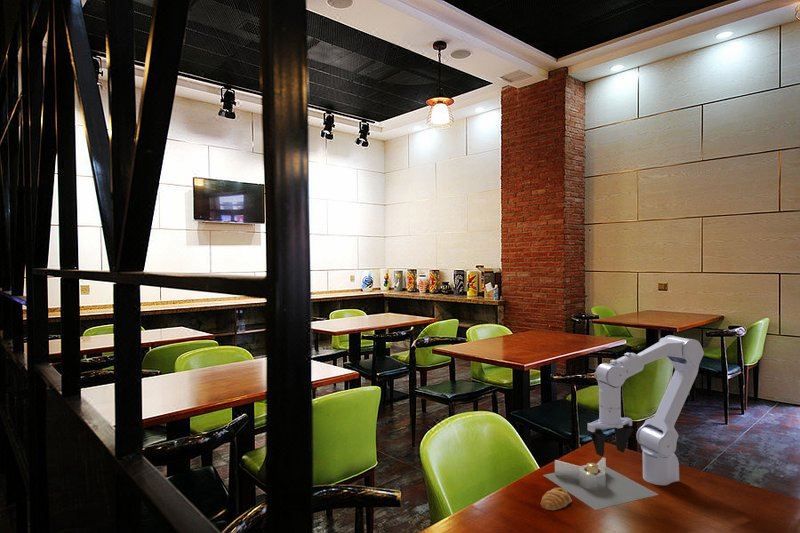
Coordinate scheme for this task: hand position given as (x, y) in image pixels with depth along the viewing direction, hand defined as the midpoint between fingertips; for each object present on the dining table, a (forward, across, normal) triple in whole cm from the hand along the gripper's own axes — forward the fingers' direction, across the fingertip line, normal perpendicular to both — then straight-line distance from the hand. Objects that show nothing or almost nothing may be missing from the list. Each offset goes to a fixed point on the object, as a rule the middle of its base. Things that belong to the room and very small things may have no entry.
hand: (610, 453), depth 137 cm
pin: (+9, -5, +2) cm, 11 cm away
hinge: (+9, -3, +5) cm, 11 cm away
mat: (+10, -3, +2) cm, 11 cm away
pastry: (+11, -20, -2) cm, 23 cm away
